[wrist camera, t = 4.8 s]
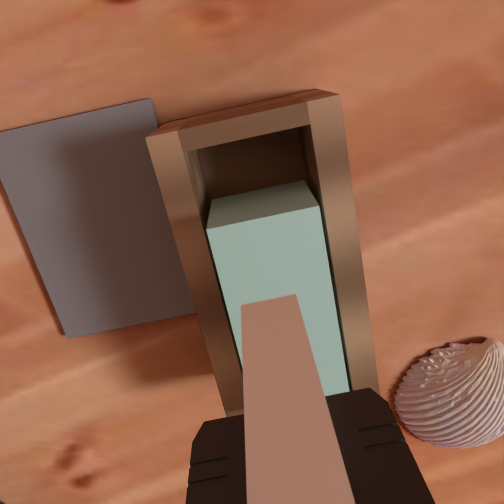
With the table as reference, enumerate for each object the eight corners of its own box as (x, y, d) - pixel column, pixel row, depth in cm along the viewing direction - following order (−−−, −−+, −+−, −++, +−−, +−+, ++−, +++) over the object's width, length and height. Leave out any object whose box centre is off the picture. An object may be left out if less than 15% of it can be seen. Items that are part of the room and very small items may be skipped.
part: (335, 365, 29) (354, 421, 24) (257, 380, 29) (261, 438, 25) (303, 180, 25) (319, 205, 20) (212, 199, 25) (206, 229, 20)
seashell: (583, 364, 31) (539, 496, 33) (528, 336, 37) (491, 450, 38) (445, 338, 30) (405, 476, 31) (409, 313, 35) (376, 432, 37)
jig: (354, 347, 34) (382, 411, 27) (233, 370, 34) (232, 439, 28) (315, 88, 27) (340, 94, 21) (166, 122, 27) (145, 137, 21)
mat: (70, 334, 32) (67, 338, 32) (-13, 134, 27) (-18, 136, 27) (208, 306, 32) (208, 310, 31) (150, 97, 27) (149, 98, 26)
